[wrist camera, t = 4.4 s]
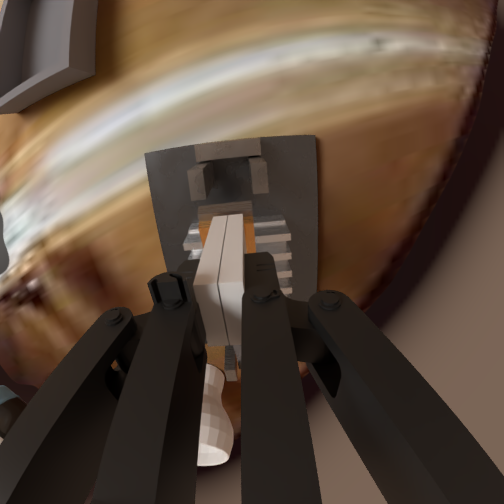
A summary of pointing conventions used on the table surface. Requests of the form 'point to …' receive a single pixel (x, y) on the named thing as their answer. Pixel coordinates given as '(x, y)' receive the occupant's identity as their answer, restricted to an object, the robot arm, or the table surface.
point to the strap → (227, 209)
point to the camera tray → (44, 48)
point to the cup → (214, 422)
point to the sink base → (237, 190)
